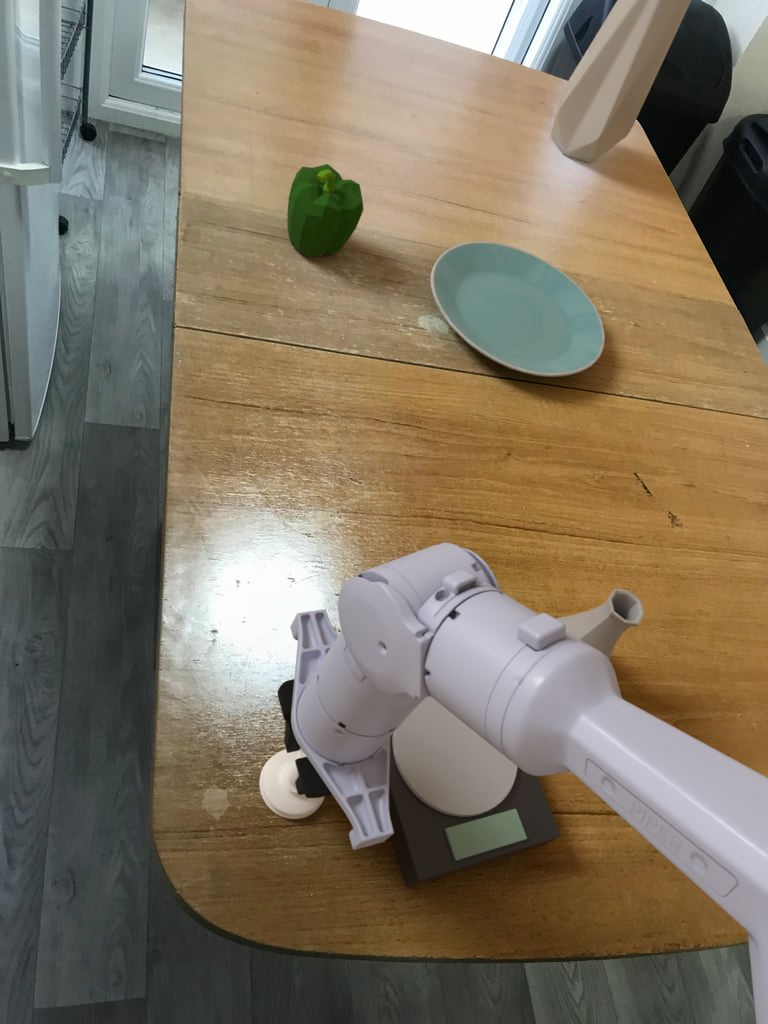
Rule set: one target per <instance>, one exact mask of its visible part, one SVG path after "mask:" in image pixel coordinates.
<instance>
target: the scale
mask: <svg viewBox="0 0 768 1024" xmlns="http://www.w3.org/2000/svg"><path fill="white" fill-rule="evenodd" d="M389 811H390V818H391V822H392V826H393V830H394V834H393V835H391V836H390V838H391V840H392V844H393V848H394V850H395V854H396V858H397V860H398V864H399V867H400V870H401V873H402V877H403V879H404V884H405V887H406V889H409V888H412V887H414V886H415V887H416V886H418V885H422V884H424V883H427V882H432V881H435V880H437V879H441V878H444V877H447V876H451V875H454V874H457V873H461V872H463V871H467V870H469V869H473V868H476V867H480V866H482V865H486V864H489V863H492V862H495V861H498V860H501V859H505V858H507V857H512V856H514V855H518V854H521V853H525V852H527V851H532V850H534V849H537V848H540V847H543V846H546V845H548V844H550V843H552V842H554V841H556V840H557V839H560V838H561V837H562V834H561V832H560V829H559V827H558V824H557V821H556V818H555V817H554V813H553V812H552V809H551V807H550V804H549V801H548V800H547V797H546V794H545V792H544V789H543V786H542V784H541V782H540V779H539V776H534V775H530V774H528V773H526V772H524V771H523V770H521V769H520V768H519V767H518V766H516V765H515V764H514V763H513V762H511V761H510V760H509V759H508V758H506V757H505V756H504V755H503V754H502V753H500V752H499V751H498V750H497V749H495V748H494V747H493V746H492V745H490V744H489V743H488V742H487V741H485V740H484V739H483V738H482V737H480V736H479V735H478V734H477V733H476V732H474V731H473V730H472V729H471V728H469V727H468V726H467V725H466V724H464V723H463V722H462V721H461V720H459V719H458V718H457V717H456V716H454V715H453V714H452V713H451V712H450V711H448V710H447V709H446V708H445V707H443V706H442V705H441V704H440V703H438V702H437V701H436V700H435V699H434V698H432V697H431V696H430V697H426V698H425V699H424V700H423V701H422V702H421V703H420V704H419V705H418V706H417V707H416V709H415V710H414V711H413V712H412V713H411V714H410V715H409V716H408V717H407V718H406V719H405V720H404V721H403V723H402V724H401V725H400V726H399V727H398V728H397V729H396V730H395V732H394V733H393V734H392V735H391V736H390V767H389Z"/></svg>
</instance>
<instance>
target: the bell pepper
mask: <svg viewBox="0 0 768 1024" xmlns="http://www.w3.org/2000/svg"><path fill="white" fill-rule="evenodd" d="M363 212H364V201H363V194H362V189H361V185H360V183H358V182H356V181H354V180H352V179H343V178H342V176H341V174H340V173H339V172H338V171H337V170H336V169H334V168H333V167H332V166H331V165H330V164H328V163H325V164H323V165H317V166H314V167H309V166H301V168H300V169H299V170H298V171H297V172H296V174H295V175H294V178H293V181H292V183H291V187H290V191H289V195H288V205H287V215H286V216H287V217H286V222H287V225H286V226H287V234H288V238H289V241H290V244H291V246H292V247H293V248H294V249H295V250H296V251H297V252H299V253H300V254H302V255H304V256H306V257H308V258H320V257H321V256H323V255H328V256H331V255H335V254H337V253H339V252H340V251H341V250H342V249H343V247H344V246H345V245H346V244H347V242H348V241H349V240H350V238H351V237H352V235H353V234H354V232H355V230H356V229H357V226H358V225H359V223H360V219H361V218H362V215H363Z"/></svg>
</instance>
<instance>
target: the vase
mask: <svg viewBox="0 0 768 1024" xmlns="http://www.w3.org/2000/svg"><path fill="white" fill-rule="evenodd" d="M691 2H692V0H616V2H615V3H614V5H613V6H612V9H611V10H610V12H609V13H608V15H607V17H606V18H605V20H604V21H603V23H602V25H601V26H600V28H599V29H598V31H597V32H596V34H595V36H594V38H593V40H592V41H591V43H590V45H589V46H588V48H587V50H586V51H585V53H584V54H583V56H582V58H581V59H580V61H579V62H578V64H577V65H576V67H575V69H574V70H573V73H572V74H571V76H570V77H569V79H568V81H567V82H566V84H565V86H564V88H563V90H562V92H561V96H560V99H559V102H558V107H557V110H556V112H555V118H554V121H553V126H552V130H551V133H550V138H551V139H552V140H553V142H554V144H555V145H556V146H557V148H558V150H560V152H561V153H562V154H563V155H564V156H565V157H569V158H573V159H575V160H578V161H582V162H585V163H589V164H590V163H593V162H595V161H596V160H598V159H599V158H600V157H601V156H603V155H604V154H606V152H607V153H608V151H609V150H611V149H612V148H614V147H615V146H616V145H617V144H618V143H620V142H621V141H623V140H624V139H626V138H627V136H628V135H629V134H630V133H631V131H632V129H633V126H634V125H635V124H636V123H635V122H636V120H637V119H638V116H639V114H640V112H641V109H642V108H643V106H644V104H645V101H646V99H647V97H648V95H649V93H650V91H651V88H652V86H653V84H654V81H655V79H656V78H657V76H658V74H659V71H660V69H661V67H662V65H663V62H664V60H665V58H666V56H667V54H668V52H669V49H670V47H671V46H672V44H673V41H674V39H675V37H676V34H677V32H678V30H679V28H680V26H681V24H682V21H683V19H684V17H685V15H686V13H687V10H688V9H689V7H690V4H691Z"/></svg>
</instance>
